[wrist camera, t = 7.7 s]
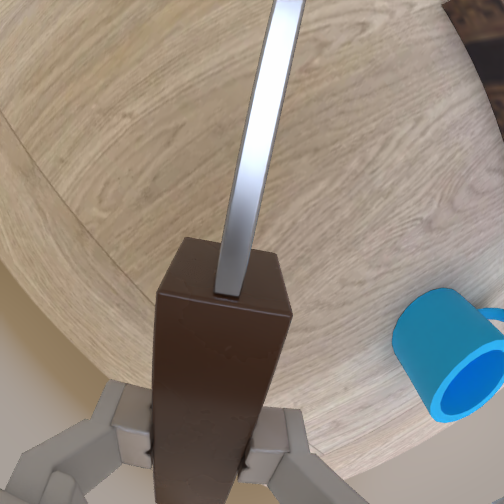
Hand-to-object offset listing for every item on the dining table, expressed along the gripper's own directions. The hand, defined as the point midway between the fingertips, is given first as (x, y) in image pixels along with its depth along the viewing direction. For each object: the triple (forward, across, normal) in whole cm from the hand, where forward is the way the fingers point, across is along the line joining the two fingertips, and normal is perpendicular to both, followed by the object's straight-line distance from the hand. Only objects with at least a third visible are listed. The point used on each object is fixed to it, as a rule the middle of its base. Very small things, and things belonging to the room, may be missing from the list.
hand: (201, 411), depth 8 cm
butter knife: (+2, 0, -5) cm, 6 cm away
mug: (+15, -21, +4) cm, 26 cm away
